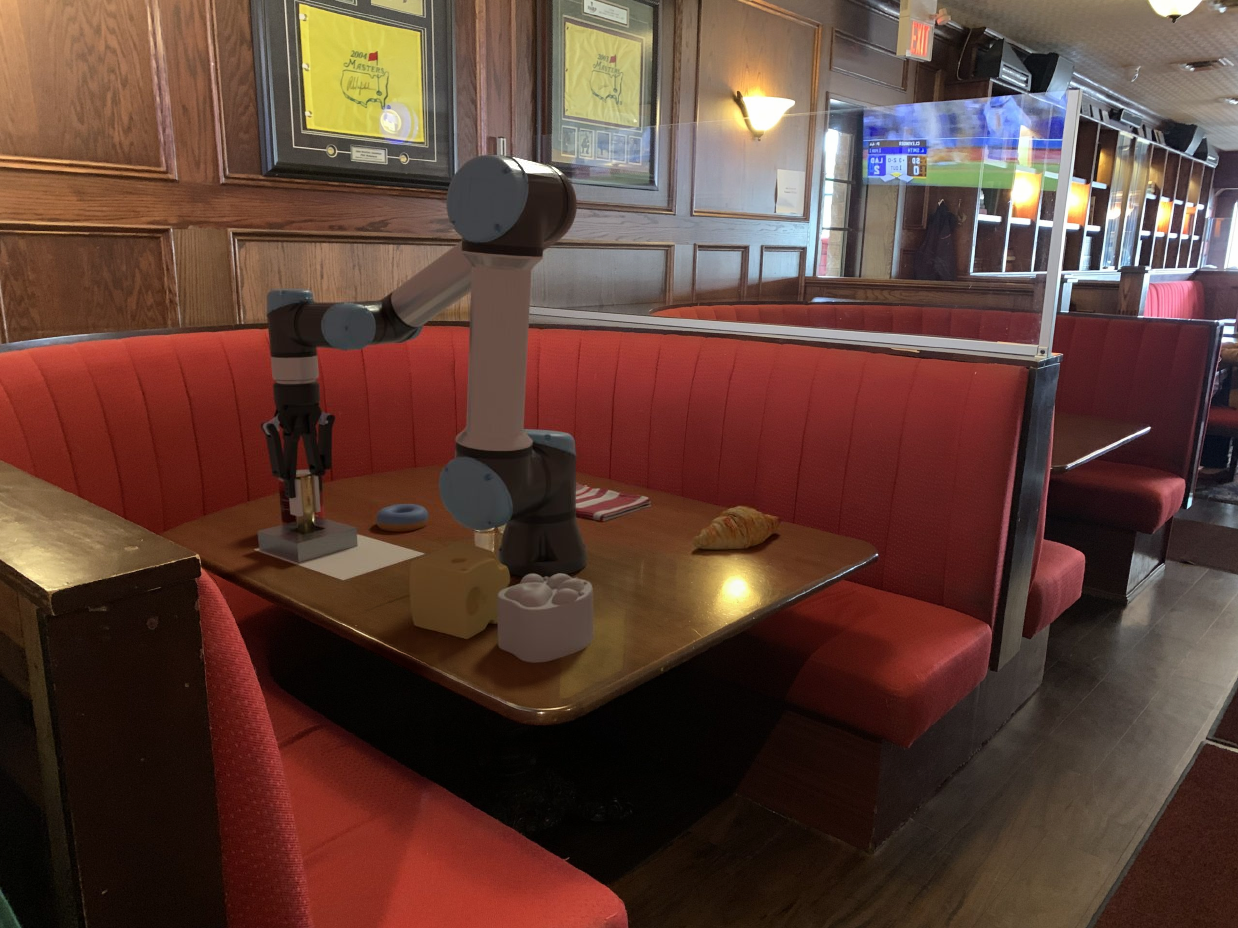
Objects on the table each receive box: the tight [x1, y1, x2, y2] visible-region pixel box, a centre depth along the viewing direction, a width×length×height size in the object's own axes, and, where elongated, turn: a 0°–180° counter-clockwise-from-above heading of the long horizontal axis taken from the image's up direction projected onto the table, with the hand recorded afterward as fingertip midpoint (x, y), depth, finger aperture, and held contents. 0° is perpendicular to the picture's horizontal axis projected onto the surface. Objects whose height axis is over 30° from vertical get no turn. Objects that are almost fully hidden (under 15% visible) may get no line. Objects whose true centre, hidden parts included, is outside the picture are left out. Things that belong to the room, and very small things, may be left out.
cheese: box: [408, 541, 511, 640], centre depth 127 cm, size 10×11×10 cm
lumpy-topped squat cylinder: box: [497, 573, 594, 663], centre depth 120 cm, size 10×13×9 cm
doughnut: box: [375, 503, 429, 533], centre depth 174 cm, size 10×10×5 cm
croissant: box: [692, 505, 782, 550], centre depth 165 cm, size 21×10×8 cm, turn 127°
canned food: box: [277, 469, 325, 525], centre depth 171 cm, size 8×8×11 cm
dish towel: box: [576, 481, 651, 522], centre depth 191 cm, size 17×23×3 cm
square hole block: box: [257, 516, 358, 563], centre depth 159 cm, size 12×12×4 cm
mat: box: [253, 533, 425, 581], centre depth 158 cm, size 26×17×1 cm, turn 53°
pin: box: [296, 473, 316, 534], centre depth 158 cm, size 3×3×11 cm
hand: (305, 512), depth 158 cm, fingers closed on pin, 3 cm apart
